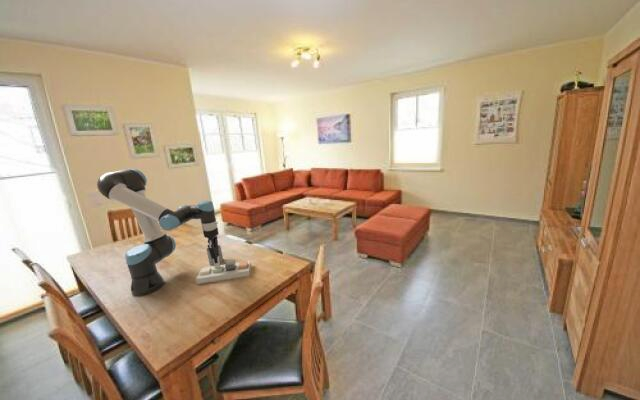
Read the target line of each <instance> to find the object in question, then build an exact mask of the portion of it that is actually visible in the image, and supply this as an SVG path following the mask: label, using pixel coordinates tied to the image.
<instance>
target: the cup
mask: <svg viewBox="0 0 640 400" xmlns="http://www.w3.org/2000/svg"><path fill="white" fill-rule="evenodd" d="M218 248H219V253H218V254H220V255H218V256H219V261H220V264H222V263H224V257H223V251H222V246H221V245H219V244H218ZM206 254H207V260H208V264H209V265H210V266H215V265H214V260H213V259H212V258H211V254H210V251H209V248H208V247H206Z"/></svg>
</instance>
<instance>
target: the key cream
mask: <svg viewBox="0 0 640 400" xmlns="http://www.w3.org/2000/svg"><path fill="white" fill-rule="evenodd" d="M210 272H211V266H205V268H204V267H202V268H201V269H200V271H199V273H200V275H206V274H210Z"/></svg>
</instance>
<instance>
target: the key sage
mask: <svg viewBox="0 0 640 400" xmlns="http://www.w3.org/2000/svg"><path fill="white" fill-rule="evenodd" d="M223 265H224V264H220V267H219V268H215V265H213V266H214V268H213V273H219V272H223V269H224V267H223Z"/></svg>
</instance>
